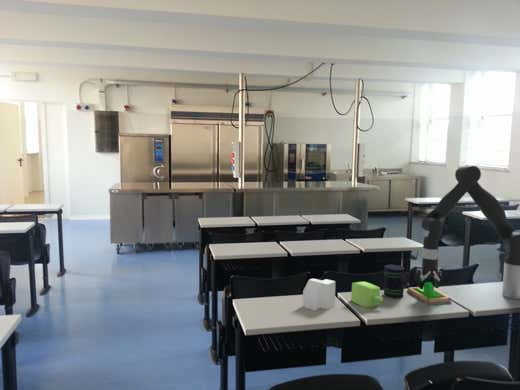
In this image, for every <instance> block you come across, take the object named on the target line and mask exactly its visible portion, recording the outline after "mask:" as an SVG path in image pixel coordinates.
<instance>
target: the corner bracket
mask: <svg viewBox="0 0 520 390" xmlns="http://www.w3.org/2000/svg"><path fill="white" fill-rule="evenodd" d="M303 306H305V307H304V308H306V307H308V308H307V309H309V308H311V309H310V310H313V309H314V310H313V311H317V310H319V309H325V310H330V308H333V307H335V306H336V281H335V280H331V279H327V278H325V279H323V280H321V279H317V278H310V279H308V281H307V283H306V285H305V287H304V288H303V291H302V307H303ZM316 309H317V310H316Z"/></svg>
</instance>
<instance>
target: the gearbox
mask: <svg viewBox="0 0 520 390" xmlns="http://www.w3.org/2000/svg"><path fill="white" fill-rule="evenodd" d="M380 293H381V288H380V287H379V286H378V285H374V284H373V283H370V282H367V281H358V282H357V281H356V282H352V283H351V295H350V301H351V302H353V303H355V304H357V305H359V306H361V307H364V308H367V309H369V308H373V307H376V306H379V305H380V303H382V302H384V297H383V296H382V297H381V296H380V295H381V294H380Z"/></svg>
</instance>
